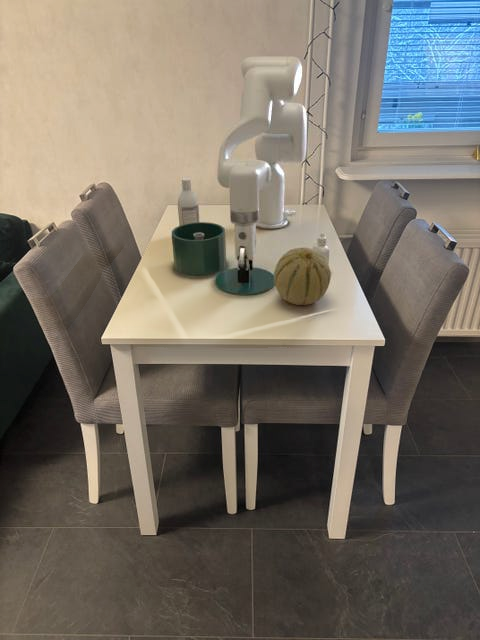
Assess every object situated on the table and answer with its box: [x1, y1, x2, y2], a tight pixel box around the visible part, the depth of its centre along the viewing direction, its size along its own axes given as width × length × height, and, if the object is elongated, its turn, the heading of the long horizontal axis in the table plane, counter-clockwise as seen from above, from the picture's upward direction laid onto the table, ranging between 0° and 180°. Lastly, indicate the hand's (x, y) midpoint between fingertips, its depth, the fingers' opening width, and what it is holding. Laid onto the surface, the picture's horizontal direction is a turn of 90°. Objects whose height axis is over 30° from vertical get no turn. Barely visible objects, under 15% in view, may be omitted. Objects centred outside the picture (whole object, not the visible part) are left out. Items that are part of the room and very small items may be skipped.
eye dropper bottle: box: [312, 232, 330, 265], centre depth 144 cm, size 4×6×12 cm
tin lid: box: [214, 262, 276, 296], centre depth 140 cm, size 17×17×6 cm
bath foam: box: [177, 177, 200, 226], centre depth 169 cm, size 7×7×20 cm
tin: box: [171, 221, 227, 278], centre depth 149 cm, size 16×16×12 cm
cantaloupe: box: [273, 247, 332, 306], centre depth 128 cm, size 15×15×15 cm
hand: (245, 275), depth 140 cm, fingers open, 7 cm apart
